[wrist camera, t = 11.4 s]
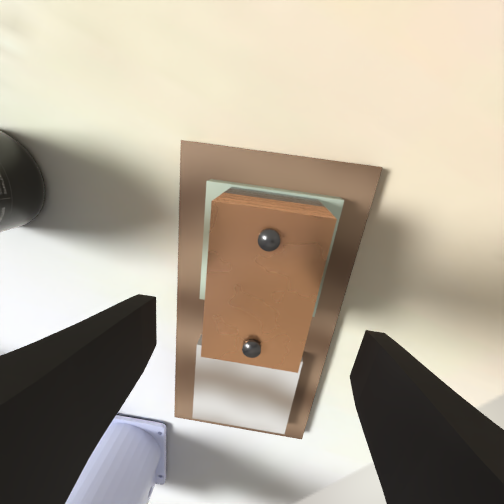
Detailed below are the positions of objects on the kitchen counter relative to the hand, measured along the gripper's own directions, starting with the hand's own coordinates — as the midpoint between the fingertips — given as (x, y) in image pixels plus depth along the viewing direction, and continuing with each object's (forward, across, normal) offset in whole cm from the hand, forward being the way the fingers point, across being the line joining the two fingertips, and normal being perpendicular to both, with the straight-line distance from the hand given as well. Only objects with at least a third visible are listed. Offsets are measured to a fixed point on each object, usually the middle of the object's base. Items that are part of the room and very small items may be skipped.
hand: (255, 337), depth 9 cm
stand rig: (+10, 0, +6) cm, 12 cm away
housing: (+8, 0, 0) cm, 8 cm away
